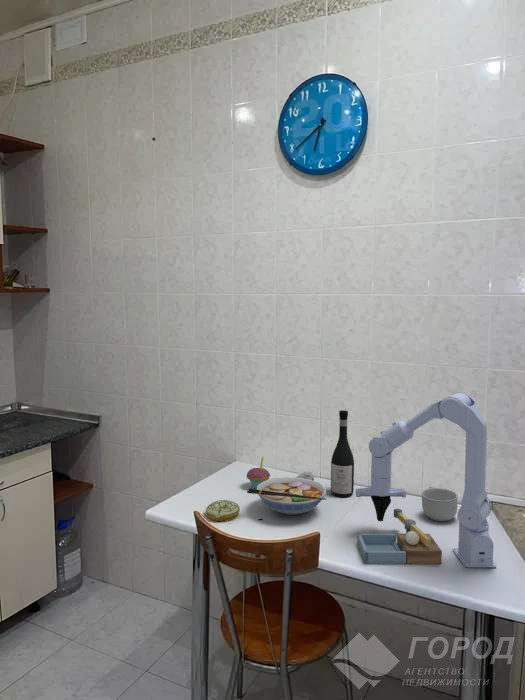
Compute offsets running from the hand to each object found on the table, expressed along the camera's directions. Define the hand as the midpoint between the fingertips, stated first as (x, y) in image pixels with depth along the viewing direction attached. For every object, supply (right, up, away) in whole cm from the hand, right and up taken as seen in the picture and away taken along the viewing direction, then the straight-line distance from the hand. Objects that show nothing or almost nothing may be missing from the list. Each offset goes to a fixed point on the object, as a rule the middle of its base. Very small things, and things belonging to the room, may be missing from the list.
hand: (379, 519), depth 150 cm
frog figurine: (-20, -1, +33) cm, 38 cm away
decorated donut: (-48, -3, +11) cm, 49 cm away
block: (+7, -5, -13) cm, 15 cm away
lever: (+7, 0, -8) cm, 10 cm away
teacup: (+21, -3, +12) cm, 24 cm away
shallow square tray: (-3, -5, -13) cm, 14 cm away
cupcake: (-37, 0, +36) cm, 51 cm away
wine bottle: (-7, -1, +30) cm, 30 cm away
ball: (+5, -1, -15) cm, 16 cm away
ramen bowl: (-26, -2, +15) cm, 30 cm away
